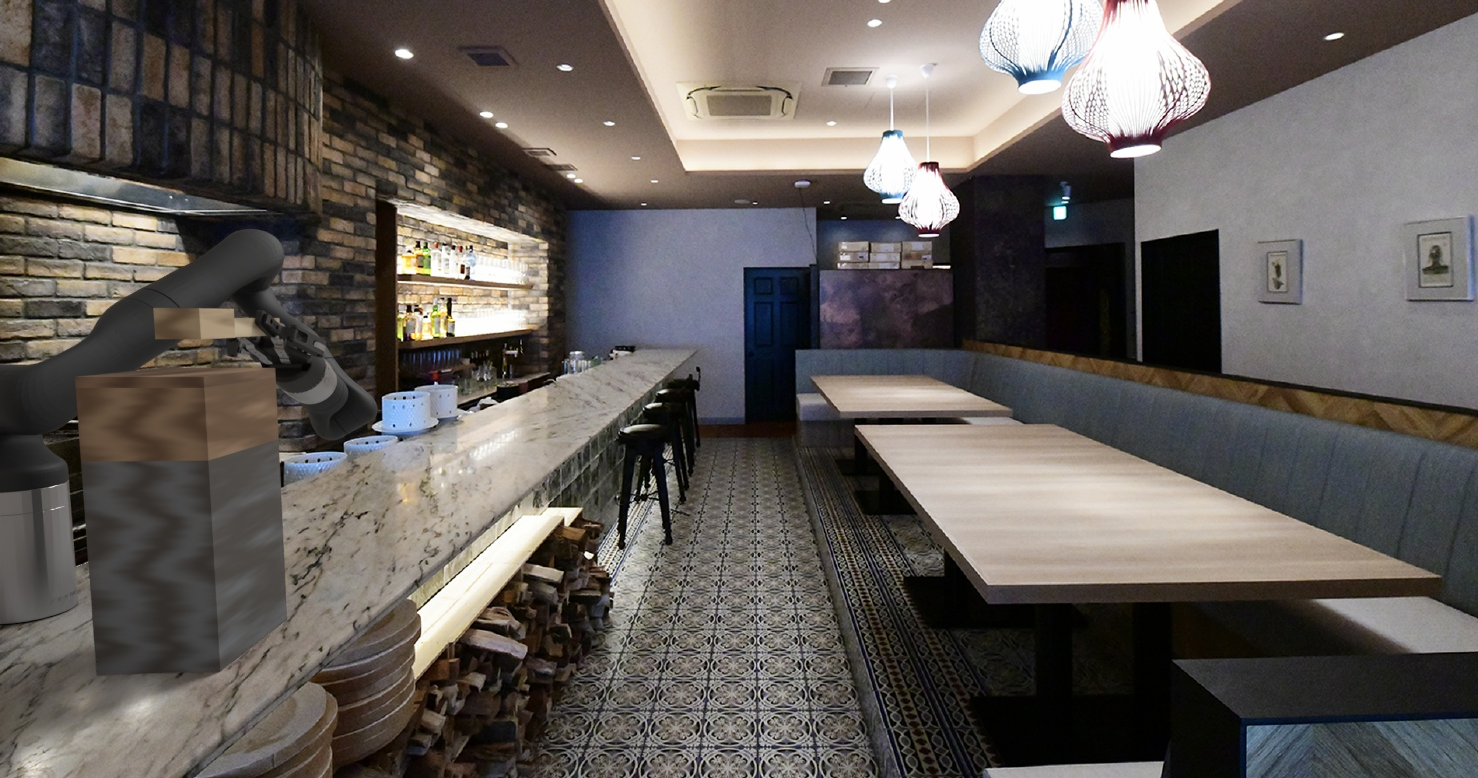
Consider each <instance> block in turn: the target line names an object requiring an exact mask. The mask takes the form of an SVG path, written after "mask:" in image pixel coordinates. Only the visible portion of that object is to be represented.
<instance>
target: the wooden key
mask: <svg viewBox="0 0 1478 778" xmlns="http://www.w3.org/2000/svg"><path fill="white" fill-rule="evenodd" d="M153 310H154V326H155V339H184V340H213V339H215V340H218V339H226V338H235V337H250V336H267V335H266V334H265V333H264V332H263V331H262V330H261V329H260V328H259V327H257V326H256V324H255V318H248V317H244V318H234V310H235V308H218V309H210V308H153ZM274 319H275V320H276V321H277V322H279V323H280V321H279V318H274Z"/></svg>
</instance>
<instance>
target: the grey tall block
mask: <svg viewBox="0 0 1478 778" xmlns="http://www.w3.org/2000/svg"><path fill="white" fill-rule="evenodd" d="M75 385H76V399H77V413H78V415H77V424H78V425H77V426H78V437H79V438H78V439H79V453H80V464H81V465H80V466H81V479H82V480H81V481H82V494H83V506H84V508H83V509H84V521H85V535H86V536H85V537H86V547H87V549H86V550H87V561H88V574H89V575H88V577H89V590H90V603H91V604H90V605H91V606H90V607H91V619H92V631H93V633H92V634H93V644H94V647H93V648H94V657H95V658H94V659H95V670H96V672H95V673H96V676H113V675H114V676H116V675H117V676H118V675H146V674H147V675H149V674H173V673H174V674H175V673H176V674H178V673H179V674H180V673H205V672H206V673H208V672H209V673H210V672H222V671H223V670H224V669H225V668H227V667H228V666H230V664H232V663H233V662H234V661H236V660H237V659H238V658H239V657H241V656H242V655H243V654H245V652H247V651H248V650H250V649H251V648H252V647H254V646H255V645H256V644H258V642H260V641H261V640H262V639H264V638H265V637H266V636H267V635H269V634H270V633H271V632H273V630H275V629H276V628H278V627H279V626H280V625H282V624H283V623H285V622H286V621H287V620H288V608H287V607H288V605H287V589H286V588H287V587H286V586H287V585H286V566H285V565H286V564H285V563H286V562H285V547H284V545H285V544H284V543H285V541H284V525H283V524H284V523H283V522H284V521H283V520H284V519H283V503H282V485H281V480H282V479H281V463H280V460H281V459H280V443H279V441H280V440H279V419H278V402H277V401H278V400H277V397H278V396H277V385H276V375H275V368H262V367H162V368H152V369H151V368H150V369H142V370H136V371H129V372H119V373H109V374H98V375H88V376H78V377H75Z"/></svg>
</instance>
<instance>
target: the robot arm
mask: <svg viewBox="0 0 1478 778" xmlns="http://www.w3.org/2000/svg"><path fill="white" fill-rule="evenodd" d="M284 262H285V249H284V247H283V244H282V243H281V242H280V241H279V239H278V238H277V237H276V236H274V235H273V234H271V233H269V232H267V231H264V230H261V229H256V228H255V229H254V228H246V229H240V230H236V231H234V232H231V233H230V234H229V235H228V236H226V237H225V238H224V239H222V240H221V241H220V242H218V244H216V245H215V246H213V247H212V248H210V249H209V250H208V251H207V252H205V253H204V254H203V255H200V257H198V258H196V259H195V260H193V261H191V262H189V263H186V265H183V266H181V267H179V268H177V269H175V270H174V271H171V272H170V273H168V274H166V275H164V276H162V277H160V278H159V279H156V280H155V281H153V282H151V283H149V284H147V285H145V286H142V287H141V288H140V289H139V288H138V289H137V290H134V292H131V293H130V294H128V295H126V296H125V297H122V298H121V299H119V300H117V301H116V302H115V303H113V304H112V305H110V306H109V307H108V308H107V309H105V311H104V312H103V313H102V314H101V315H100V317H99V318H98V319H97V321H96V322H95V325H94V327H92V330H91V331H90V333H89V334H88V335H86V337H84V338H83V339H82V340H81V341H79V342H78V343H76V344H75V345H72V346H71V347H69V348H67V349H65V350H63V351H61V352H59V353H58V354H55V355H53V356H50V357H49V358H46V359H45V360H42V361H38V362H36V363H31V364H15V363H14V364H11V363H10V364H9V363H8V364H7V363H3V364H2V363H0V625H3V624H4V625H6V624H16V623H17V624H18V623H23V622H30V621H35V620H41V619H45V618H49V617H51V616H55V615H58V614H62V613H64V612H66V611H68V610H71V609H72V608H74V607H75V606H77V605H78V603H79V600H78V599H79V597H78V586H77V585H78V584H77V569H76V558H75V557H76V556H75V555H76V554H75V545H74V531H73V516H72V506H71V505H72V504H71V492H70V478H69V476H70V475H69V467H68V466H69V465H68V463H67V461H66V460H64V459H63V458H62V457H60V456H58V455H57V454H56V453H54V452H53V451H52V450H50V449H49V448H48V446H47V445H46V443H45V441H44V437H43V435H44V434H48V433H51V432H54V431H57V430H59V429H61V428H62V427H64V426H65V425H66V424H68V423H69V422H71V421H72V420H74V419H75V418H76V417H78V413H77V399H76V385H75V377H78V376H88V375H98V374H109V373H119V372H129V371H138V369H141V368H142V367H143V366H144V365H146V364H147V363H149V362H151V361H152V360H154V359H156V358H157V357H159V356H160V355H162V354H164V353H166V351H169V350H170V349H171V348H174V346H176V345H178V344H179V343H180V342H182V341H184V340H185V339H155V326H154V310H153V308H210V309H220V308H221V306H222V305H223V304H224V303H225V302H226V301H227V300H228V299H229V298H230V299H231V300H232V301H233V302H234V303H235V304H236V305H237V306H238V308H239V309H240V310H241V311H242V312H243V313H244V314H245V316H246V317H247V318H255V324H256V326H257V327H259V328H260V329H261V330H262V331H263V332H264V333H265V334H266V335H267V336H250V337H235V338H225V345H226V346H225V348H226V354H227V356H228V357H230V358H234V359H235V358H238V355H239V356H240V355H241V354H242V355H248V356H249V358H250V359H252V360H254V361H255V362H256V361H257V362H258V363H259V364H260V366H261V368H275V375H276V387H279V388H280V390H282V391H283V392H284V393H285V394H287V396H289V397H290V398H292V399H294V400H295V401H296V402H298V403H299V404H300V405H301V406H302V407H304V408H305V410H306V411H307V414H308V419H309V421H310V424H311V427H312V428H313V431H315V433H316V434H317V435H318V436H319V437H320V438H322V439H324V440H328V441H337V440H340V439H342V438H344V437H345V436H347V435H348V434H351V433H352V432H354V431H356V430H358V429H360V428H362V427H363V426H365V425H366V424H368V423H370V422H372V421H373V420H375V418H376V417H377V415H378V404H377V402H376V400H375V398H374V397H373V396H372V395H371V394H370V393H369V392H368V391H366V390H365V389H364V388H363V387H362V386H360V384H358V383H357V382H355V381H354V380H353V379H352V378H351V377H350V376H349V375H348V374H347V373H346V372H345V371H344V370H343V369H342V367H341V366H340V365H339V364H338V362H337V361H336V359H335V357H334V356H333V355H332V353H331V351H330V350H329V348H328V347H327V341H326V340H325V339H323V338H322V337H320V336H319V334H317V333H316V332H315V331H314V330H313V329H312V328H311V327H309V326H308V325H307V324H305V323H303V322H302V321H300V320H298V319H297V318H295V317H293V316H292V315H291V314H289V313H288V312H287V310H285V309H284V307H283V306H282V305H281V304H280V302H279V301H278V299H277V297H276V295H275V293H274V291H273V288H272V286H271V285H272V284H273V281H274V280H275V279H276V277H277V276H278V274H279V273H280V271H281V270H282V268H283V265H284ZM234 318H245V317H244V316H243V315H242V314H241V313H240V312H239V311H238V310H237V309H234ZM274 318H279V321H280V323H279V322H277V321H276V320H275V319H274Z"/></svg>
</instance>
